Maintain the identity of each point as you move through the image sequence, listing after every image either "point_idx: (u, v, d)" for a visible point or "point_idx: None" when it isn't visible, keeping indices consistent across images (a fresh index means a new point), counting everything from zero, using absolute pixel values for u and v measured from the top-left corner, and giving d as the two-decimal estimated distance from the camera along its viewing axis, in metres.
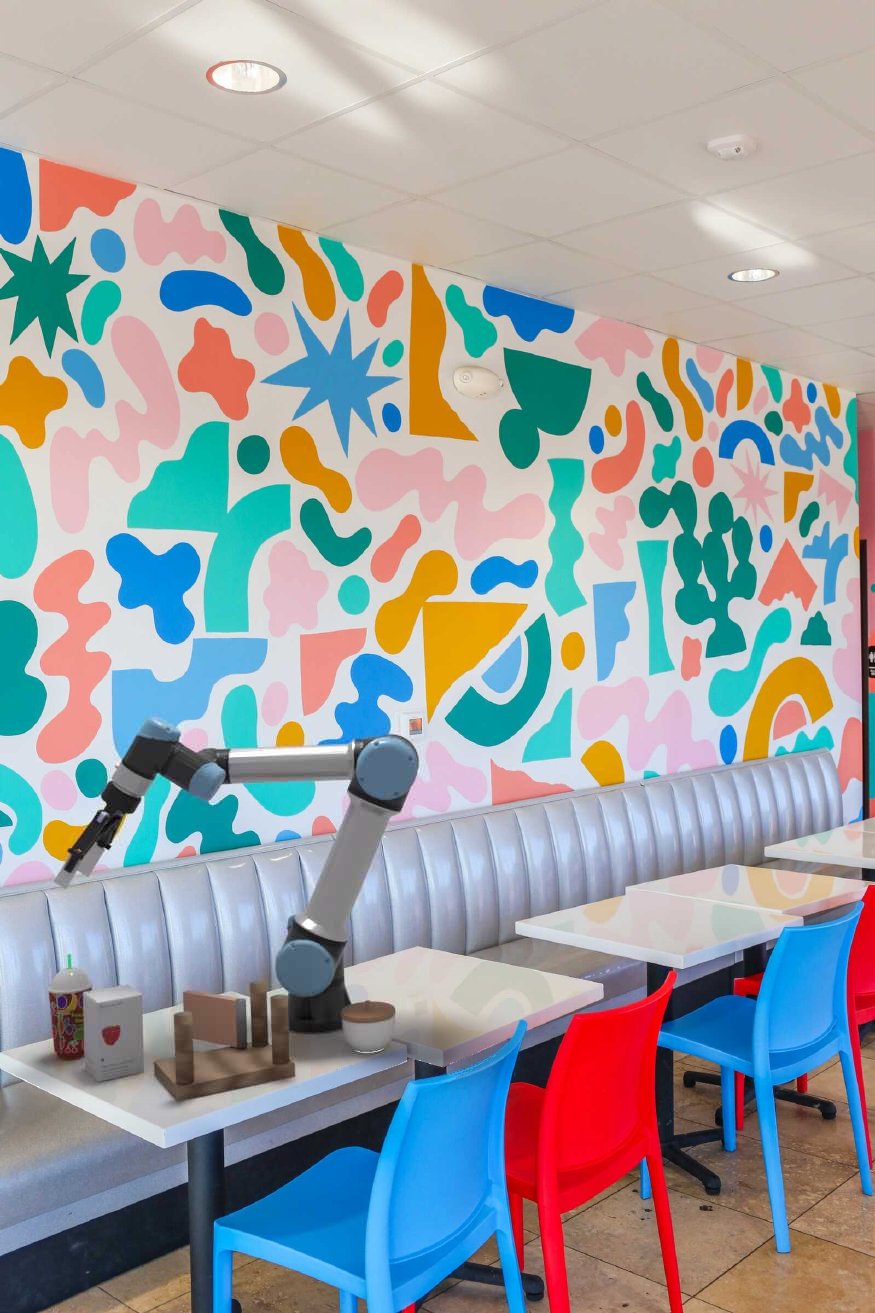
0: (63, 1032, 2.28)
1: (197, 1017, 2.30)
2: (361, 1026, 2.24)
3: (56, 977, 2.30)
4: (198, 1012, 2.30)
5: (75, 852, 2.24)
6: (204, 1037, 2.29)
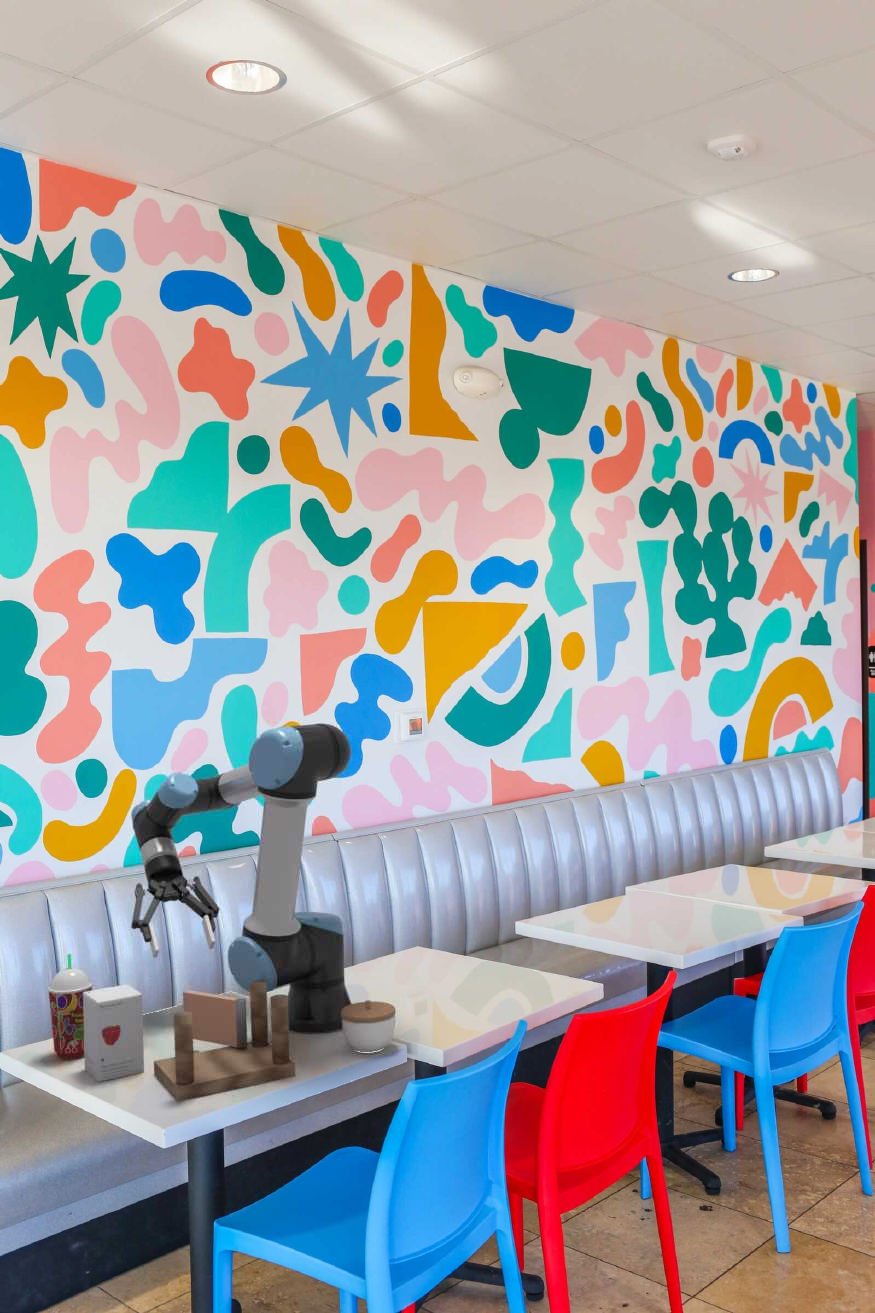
0: (63, 1032, 2.28)
1: (197, 1017, 2.30)
2: (361, 1026, 2.24)
3: (56, 977, 2.30)
4: (198, 1012, 2.30)
5: (132, 923, 2.40)
6: (204, 1037, 2.29)
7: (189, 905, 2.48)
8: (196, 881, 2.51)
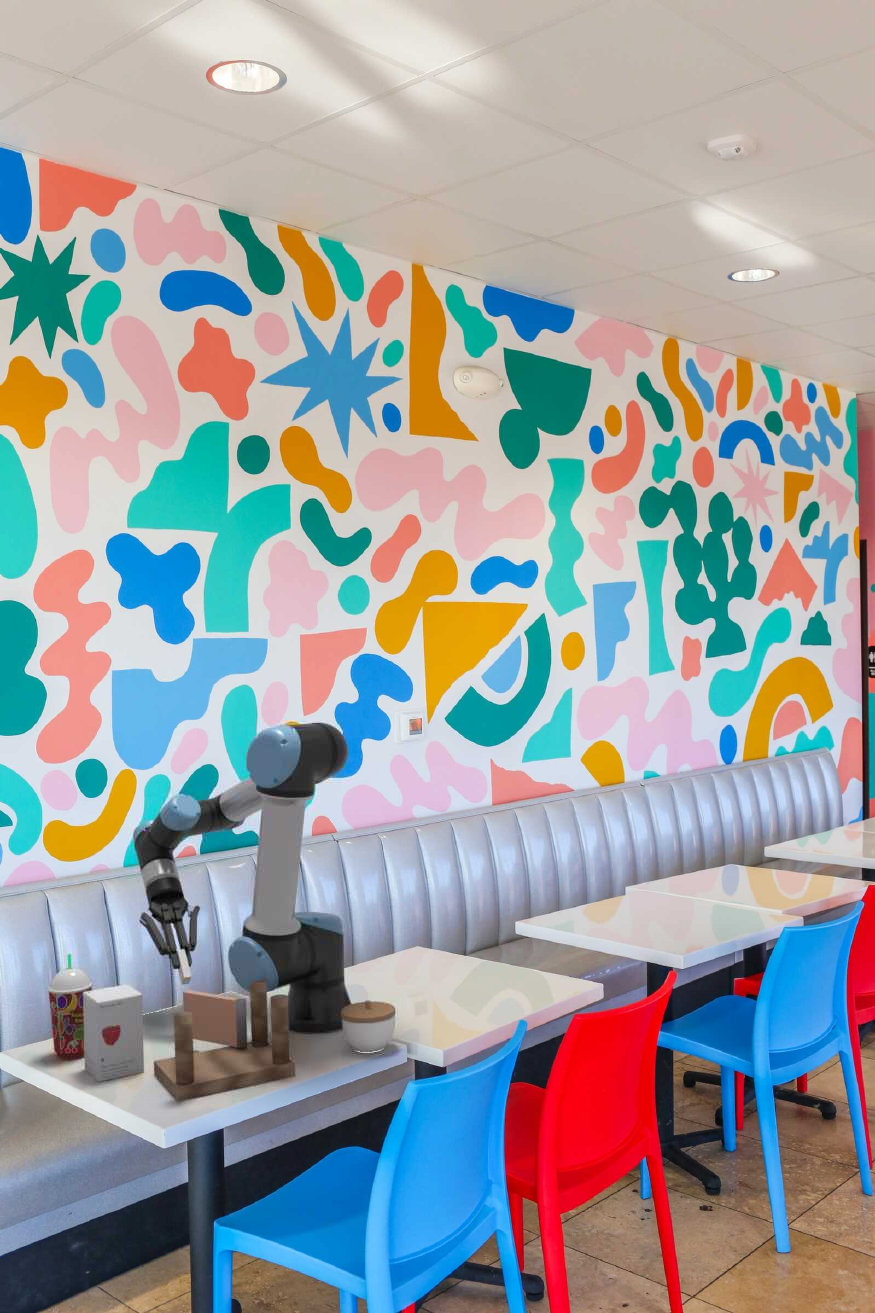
0: (63, 1032, 2.28)
1: (197, 1017, 2.30)
2: (361, 1026, 2.24)
3: (56, 977, 2.30)
4: (198, 1012, 2.30)
5: (161, 951, 2.41)
6: (204, 1037, 2.29)
7: (176, 932, 2.46)
8: (195, 910, 2.49)
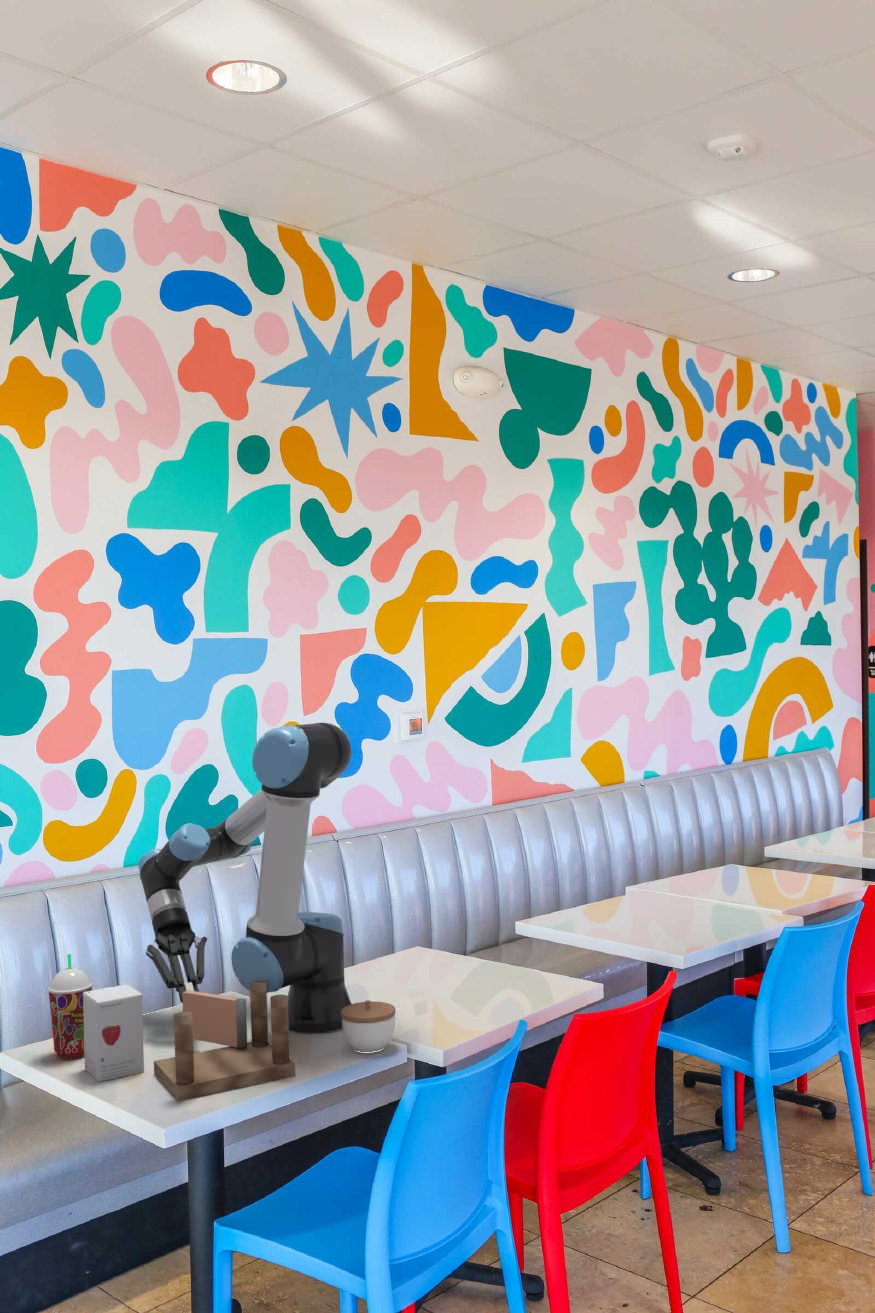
0: (63, 1032, 2.28)
1: (196, 1017, 2.30)
2: (361, 1026, 2.24)
3: (56, 977, 2.30)
4: (198, 1012, 2.29)
5: (168, 984, 2.37)
6: (203, 1037, 2.29)
7: (183, 964, 2.42)
8: (202, 941, 2.45)
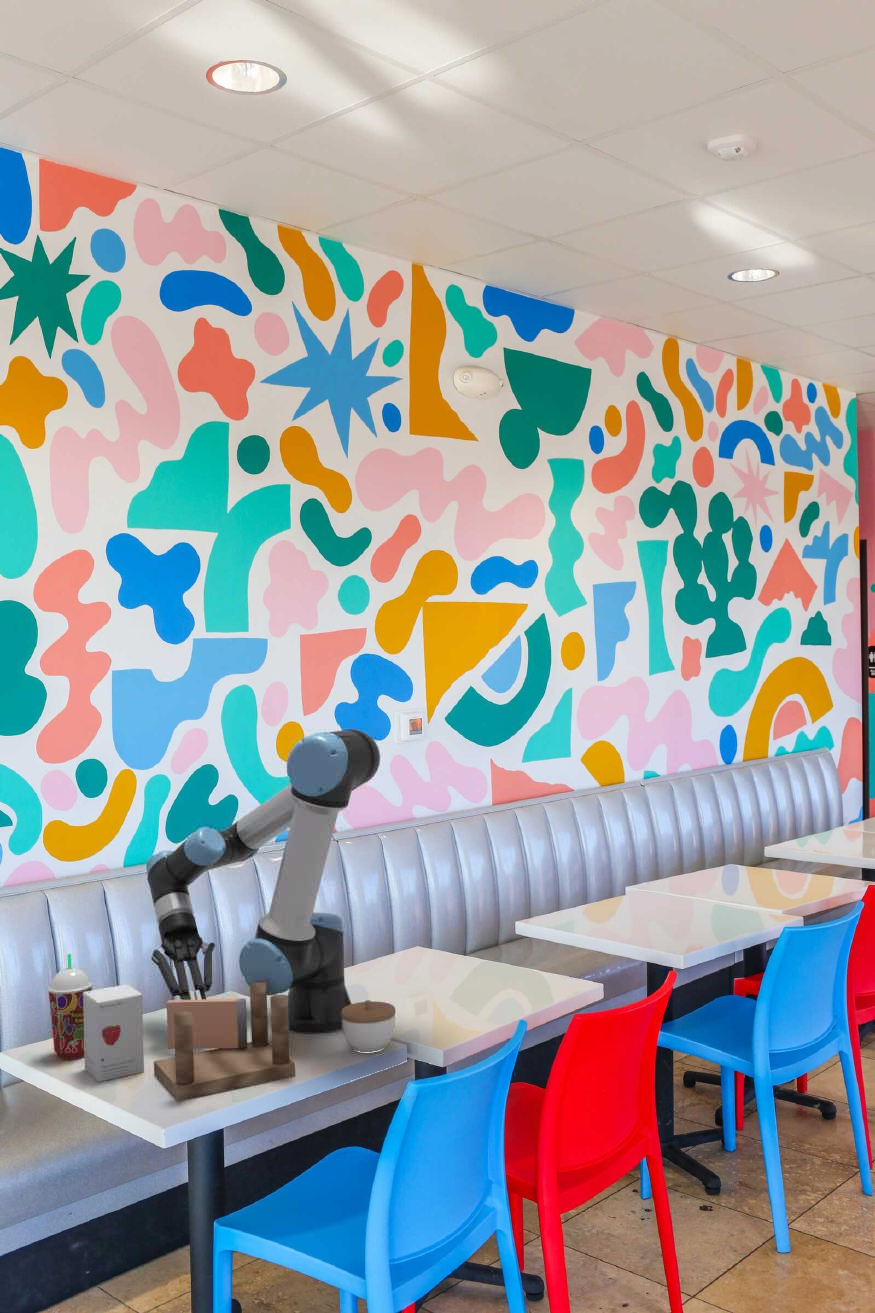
0: (63, 1032, 2.28)
1: None
2: (361, 1026, 2.24)
3: (56, 977, 2.30)
4: None
5: (172, 992, 2.30)
6: (194, 1045, 2.25)
7: (191, 971, 2.36)
8: (209, 947, 2.39)
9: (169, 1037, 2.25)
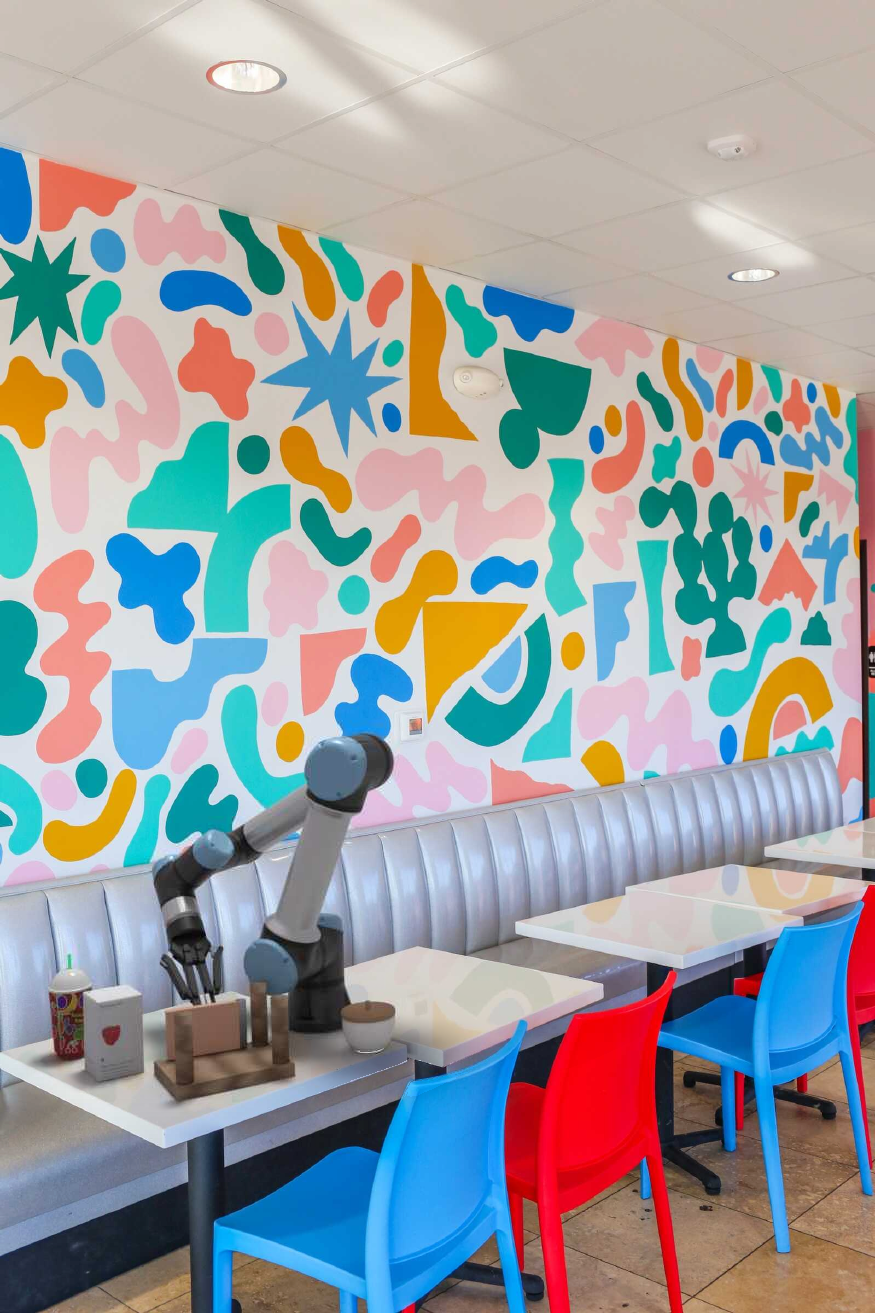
0: (63, 1032, 2.28)
1: None
2: (361, 1026, 2.24)
3: (56, 977, 2.30)
4: None
5: (182, 996, 2.27)
6: (196, 1052, 2.21)
7: (199, 975, 2.33)
8: (218, 951, 2.36)
9: (169, 1048, 2.19)
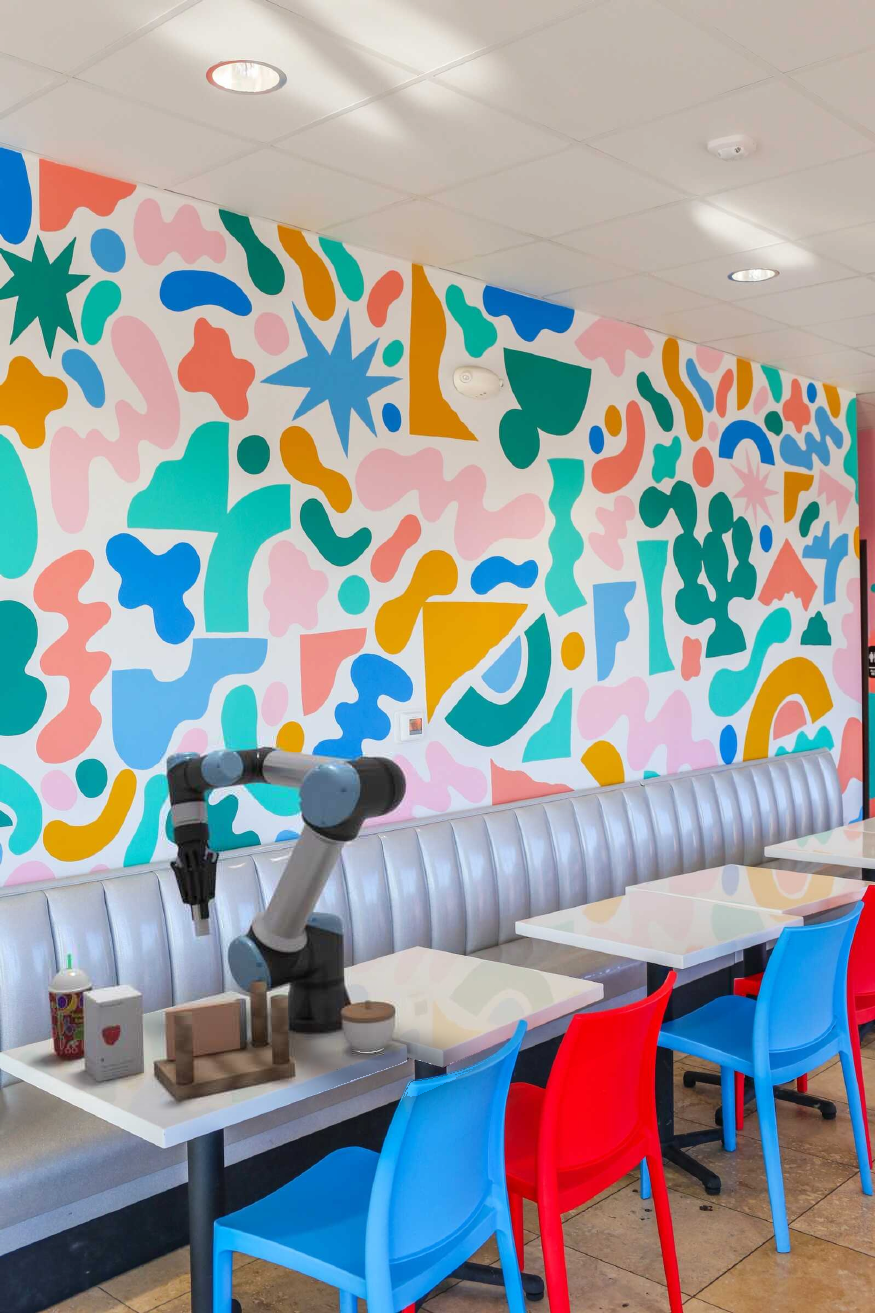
0: (63, 1032, 2.28)
1: None
2: (361, 1026, 2.24)
3: (56, 977, 2.30)
4: None
5: None
6: (196, 1052, 2.21)
7: None
8: (207, 858, 2.45)
9: (169, 1048, 2.19)
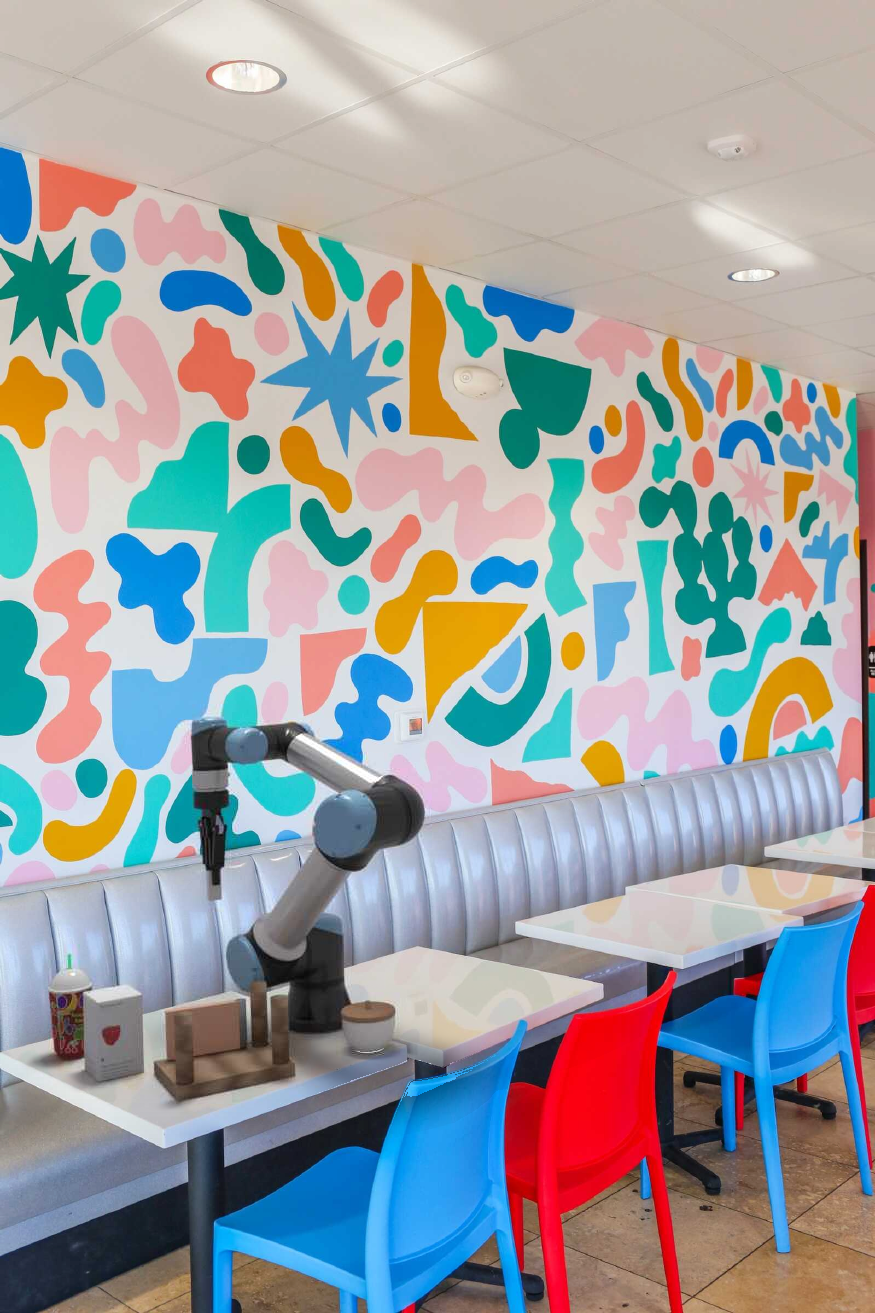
0: (63, 1032, 2.28)
1: None
2: (361, 1026, 2.24)
3: (56, 977, 2.30)
4: None
5: None
6: (196, 1052, 2.21)
7: None
8: (214, 830, 2.44)
9: (169, 1048, 2.19)
